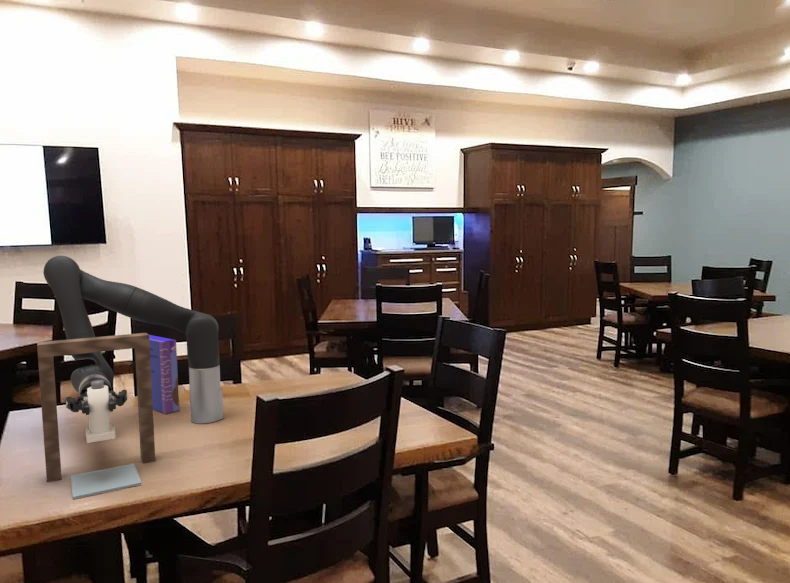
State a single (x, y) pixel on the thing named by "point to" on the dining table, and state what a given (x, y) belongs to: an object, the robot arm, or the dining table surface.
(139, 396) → the archway
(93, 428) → the white tall cylinder
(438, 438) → the dining table surface
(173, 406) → the cereal box
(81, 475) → the mat
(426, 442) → the dining table surface
